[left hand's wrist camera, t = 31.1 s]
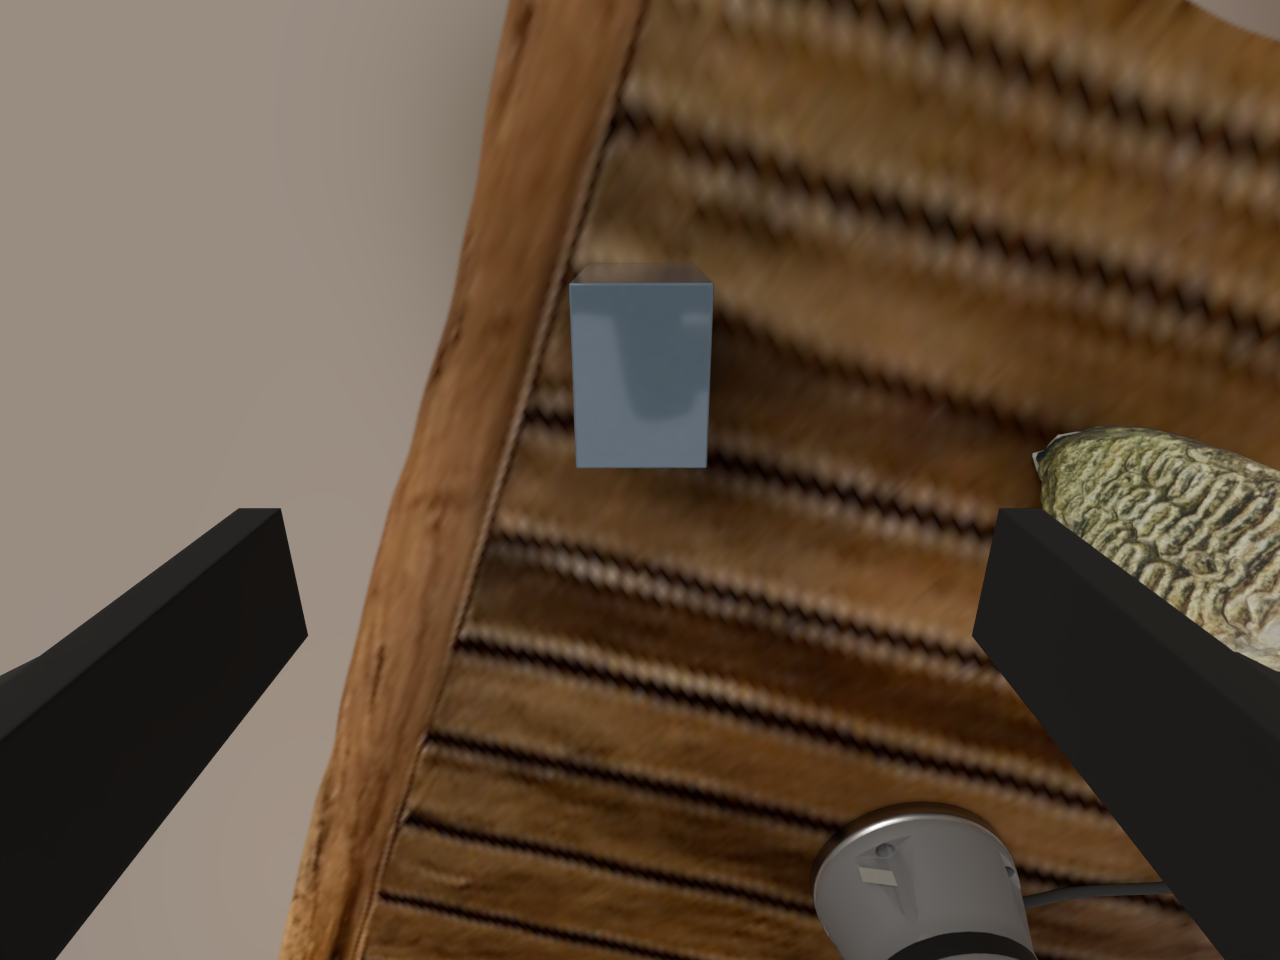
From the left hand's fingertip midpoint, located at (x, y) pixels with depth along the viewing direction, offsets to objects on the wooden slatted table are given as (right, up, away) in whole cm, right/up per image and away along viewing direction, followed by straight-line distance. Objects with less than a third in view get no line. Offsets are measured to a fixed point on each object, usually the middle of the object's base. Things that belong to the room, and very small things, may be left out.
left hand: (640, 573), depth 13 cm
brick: (0, +10, +25) cm, 27 cm away
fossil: (+30, +1, +29) cm, 42 cm away
